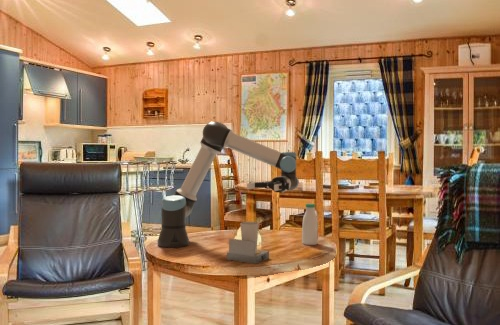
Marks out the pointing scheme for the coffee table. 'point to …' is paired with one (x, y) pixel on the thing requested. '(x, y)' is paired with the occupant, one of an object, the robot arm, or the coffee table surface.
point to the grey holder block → (245, 252)
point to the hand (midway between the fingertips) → (260, 187)
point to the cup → (250, 231)
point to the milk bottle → (310, 226)
